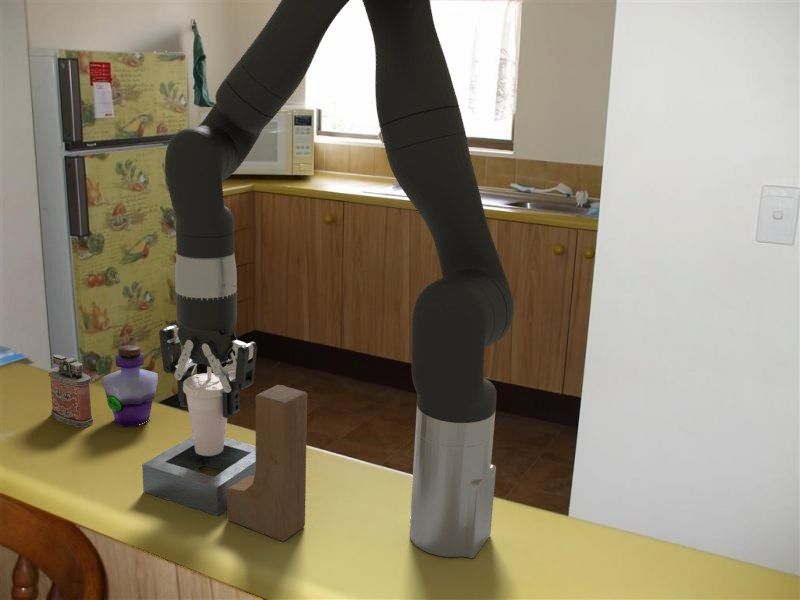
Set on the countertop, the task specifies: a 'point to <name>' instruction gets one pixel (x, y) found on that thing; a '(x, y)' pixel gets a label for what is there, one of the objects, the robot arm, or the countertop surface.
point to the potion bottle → (130, 388)
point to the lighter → (70, 392)
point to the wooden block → (275, 467)
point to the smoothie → (206, 412)
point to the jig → (198, 474)
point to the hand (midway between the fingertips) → (208, 410)
